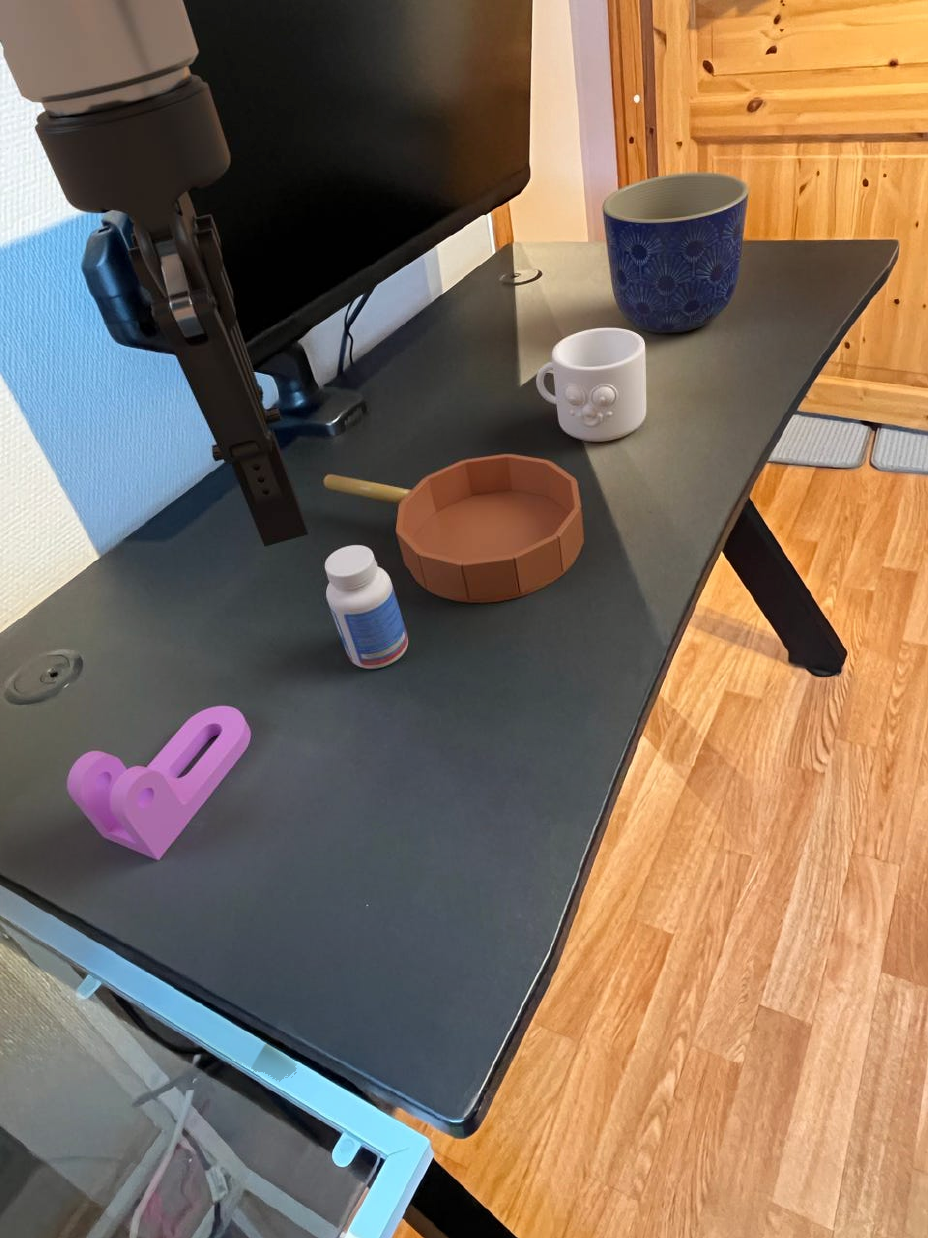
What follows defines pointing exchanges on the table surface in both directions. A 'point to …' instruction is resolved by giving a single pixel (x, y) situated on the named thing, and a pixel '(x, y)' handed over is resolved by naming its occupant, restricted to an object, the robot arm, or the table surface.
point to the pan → (484, 526)
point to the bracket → (159, 782)
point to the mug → (598, 383)
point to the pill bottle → (364, 608)
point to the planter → (675, 248)
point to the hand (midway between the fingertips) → (285, 533)
